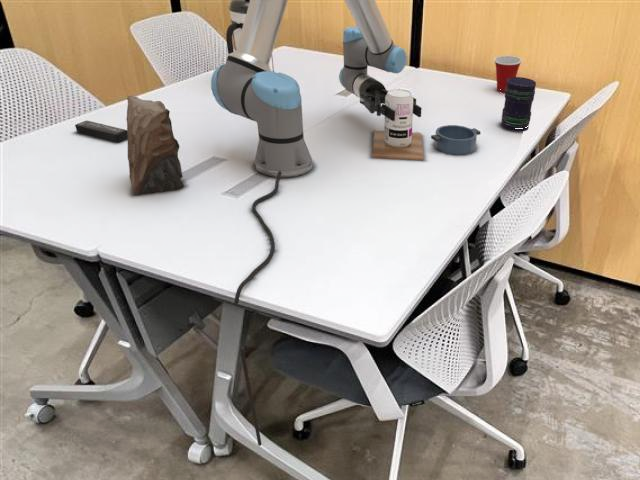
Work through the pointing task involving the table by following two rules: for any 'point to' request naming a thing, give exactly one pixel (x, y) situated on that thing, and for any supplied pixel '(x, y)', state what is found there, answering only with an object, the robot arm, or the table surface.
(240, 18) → the coffee press
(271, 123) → the robot arm
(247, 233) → the table surface
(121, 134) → the multiport hub
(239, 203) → the table surface
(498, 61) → the plastic cup
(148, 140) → the brown rock
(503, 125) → the storage jar
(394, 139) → the supplement can
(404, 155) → the wooden board
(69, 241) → the table surface
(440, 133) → the pot
